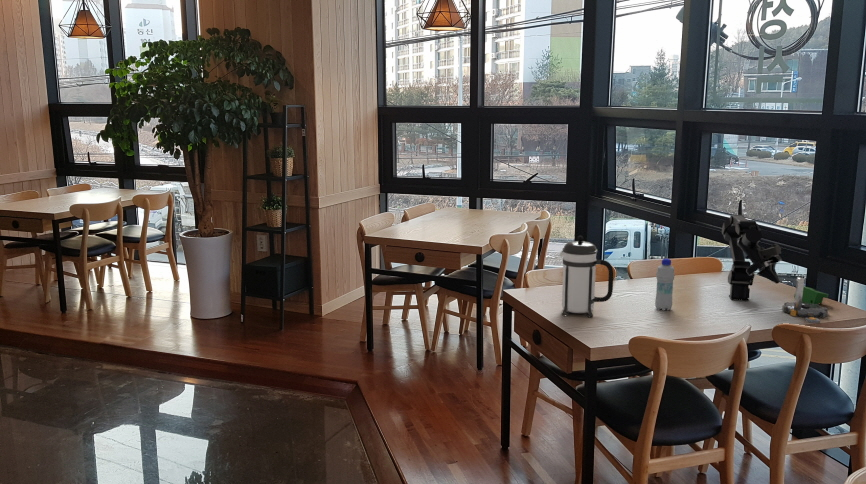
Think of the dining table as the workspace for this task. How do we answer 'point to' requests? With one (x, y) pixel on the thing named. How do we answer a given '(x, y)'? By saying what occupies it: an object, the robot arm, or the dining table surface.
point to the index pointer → (812, 320)
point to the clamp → (812, 296)
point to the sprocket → (803, 305)
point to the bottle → (664, 285)
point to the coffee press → (581, 277)
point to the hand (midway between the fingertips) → (778, 282)
